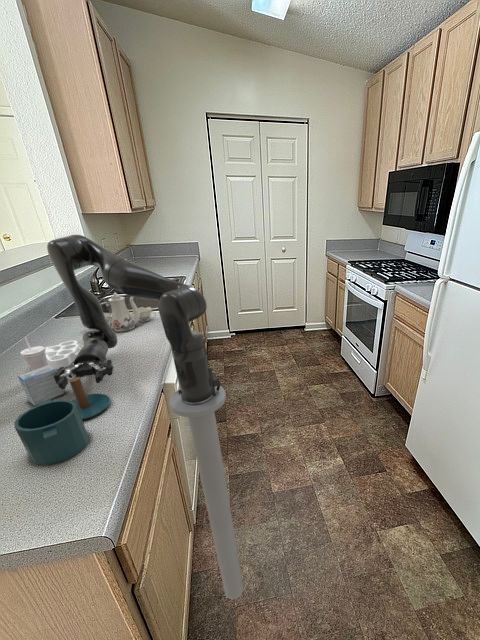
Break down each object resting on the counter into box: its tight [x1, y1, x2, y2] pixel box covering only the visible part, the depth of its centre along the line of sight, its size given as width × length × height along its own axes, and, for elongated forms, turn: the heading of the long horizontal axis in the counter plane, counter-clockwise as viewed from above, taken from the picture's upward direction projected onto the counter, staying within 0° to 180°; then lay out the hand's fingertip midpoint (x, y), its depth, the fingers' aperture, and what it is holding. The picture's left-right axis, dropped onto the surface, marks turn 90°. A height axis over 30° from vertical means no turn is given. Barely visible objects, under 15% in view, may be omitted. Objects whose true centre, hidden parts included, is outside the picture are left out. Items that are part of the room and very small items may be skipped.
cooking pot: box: [14, 399, 90, 466], centre depth 76 cm, size 11×17×10 cm
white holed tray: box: [45, 340, 83, 370], centre depth 120 cm, size 3×18×15 cm
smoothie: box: [20, 336, 48, 371], centre depth 105 cm, size 6×6×14 cm
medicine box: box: [17, 365, 65, 407], centre depth 95 cm, size 8×4×9 cm, turn 145°
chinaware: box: [100, 291, 157, 333], centre depth 146 cm, size 28×17×17 cm, turn 122°
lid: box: [68, 376, 111, 421], centre depth 90 cm, size 12×12×10 cm
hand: (79, 383), depth 91 cm, fingers open, 8 cm apart
